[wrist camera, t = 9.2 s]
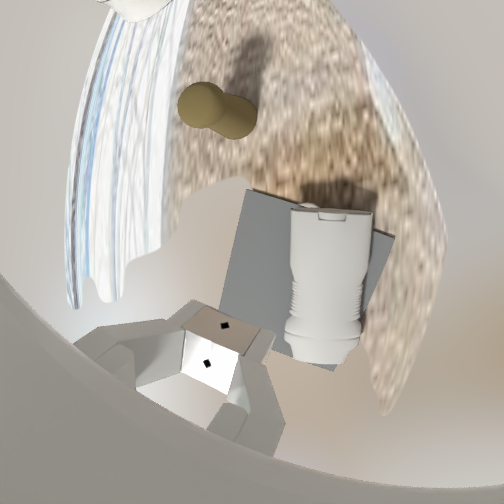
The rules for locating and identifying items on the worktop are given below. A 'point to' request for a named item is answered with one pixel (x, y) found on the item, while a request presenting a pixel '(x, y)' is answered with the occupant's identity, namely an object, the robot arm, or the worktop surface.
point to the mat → (277, 268)
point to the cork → (216, 110)
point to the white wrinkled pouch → (327, 282)
